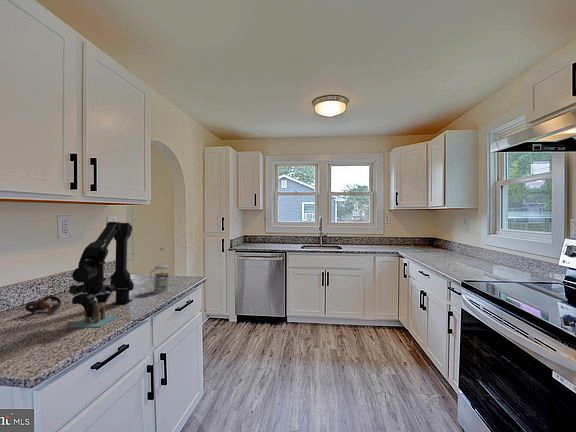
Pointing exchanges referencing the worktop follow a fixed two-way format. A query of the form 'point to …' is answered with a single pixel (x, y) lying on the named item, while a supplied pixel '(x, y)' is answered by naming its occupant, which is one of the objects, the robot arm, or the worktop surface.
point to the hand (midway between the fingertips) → (94, 314)
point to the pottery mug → (43, 305)
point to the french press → (161, 279)
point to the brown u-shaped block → (97, 313)
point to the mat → (92, 322)
